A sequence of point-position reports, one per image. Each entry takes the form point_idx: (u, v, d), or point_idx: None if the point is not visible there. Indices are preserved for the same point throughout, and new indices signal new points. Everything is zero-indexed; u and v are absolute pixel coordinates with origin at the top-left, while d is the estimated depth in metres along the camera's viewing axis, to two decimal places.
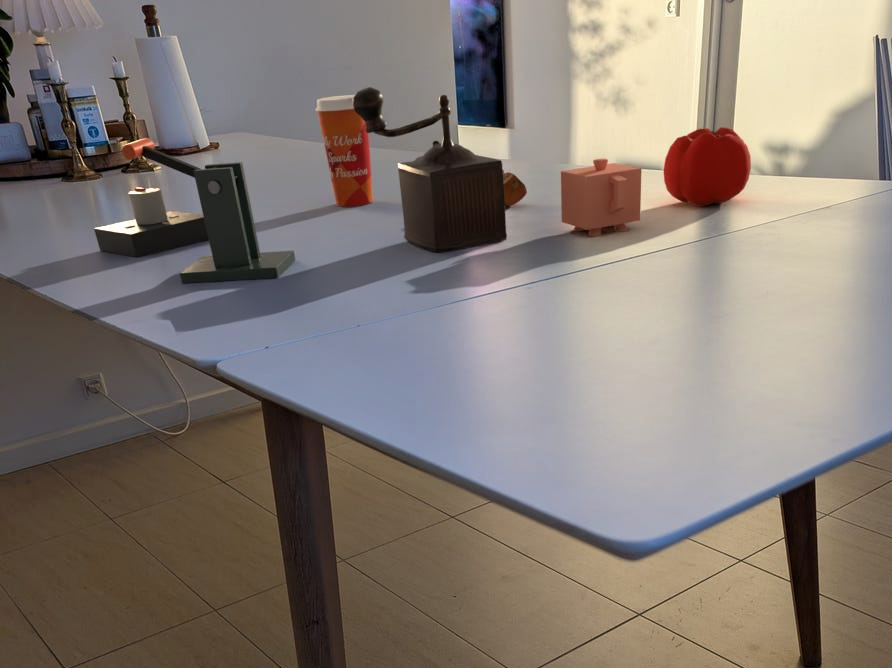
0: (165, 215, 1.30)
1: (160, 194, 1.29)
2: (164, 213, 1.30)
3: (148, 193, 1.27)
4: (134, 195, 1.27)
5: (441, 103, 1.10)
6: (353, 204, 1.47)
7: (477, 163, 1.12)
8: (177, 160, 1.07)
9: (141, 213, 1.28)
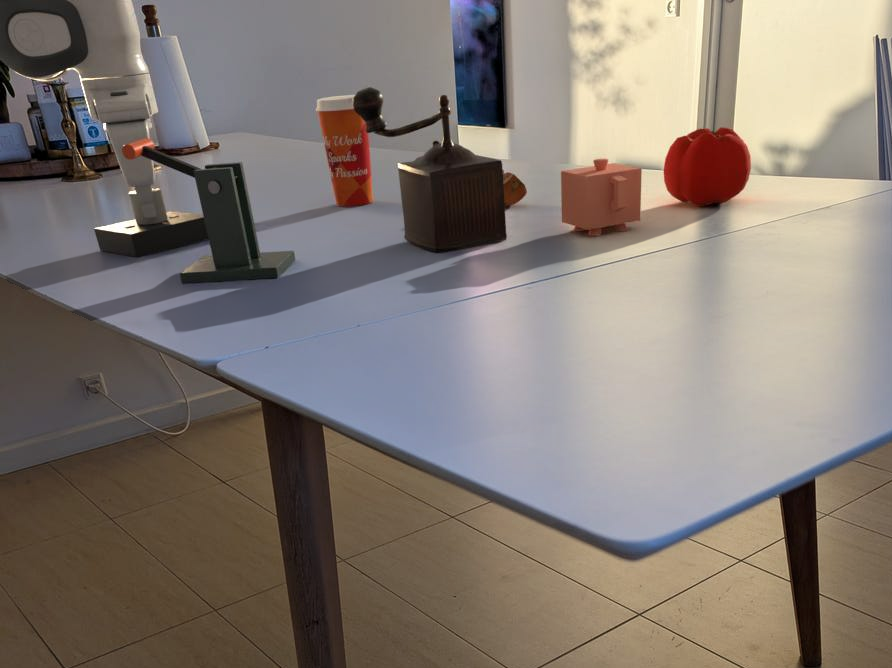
0: (165, 215, 1.30)
1: (160, 194, 1.29)
2: (164, 213, 1.30)
3: None
4: (134, 195, 1.27)
5: (441, 103, 1.10)
6: (353, 204, 1.47)
7: (477, 163, 1.12)
8: (177, 160, 1.07)
9: (140, 213, 1.28)
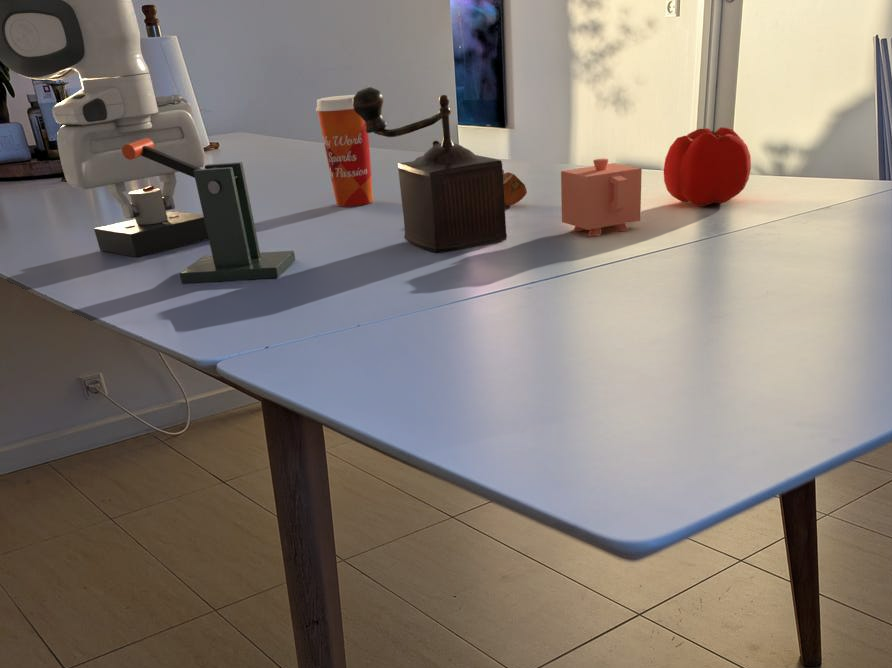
0: (152, 218, 1.29)
1: (147, 197, 1.27)
2: (150, 216, 1.28)
3: (132, 194, 1.27)
4: None
5: (441, 103, 1.10)
6: (353, 204, 1.47)
7: (477, 163, 1.12)
8: (177, 160, 1.07)
9: None
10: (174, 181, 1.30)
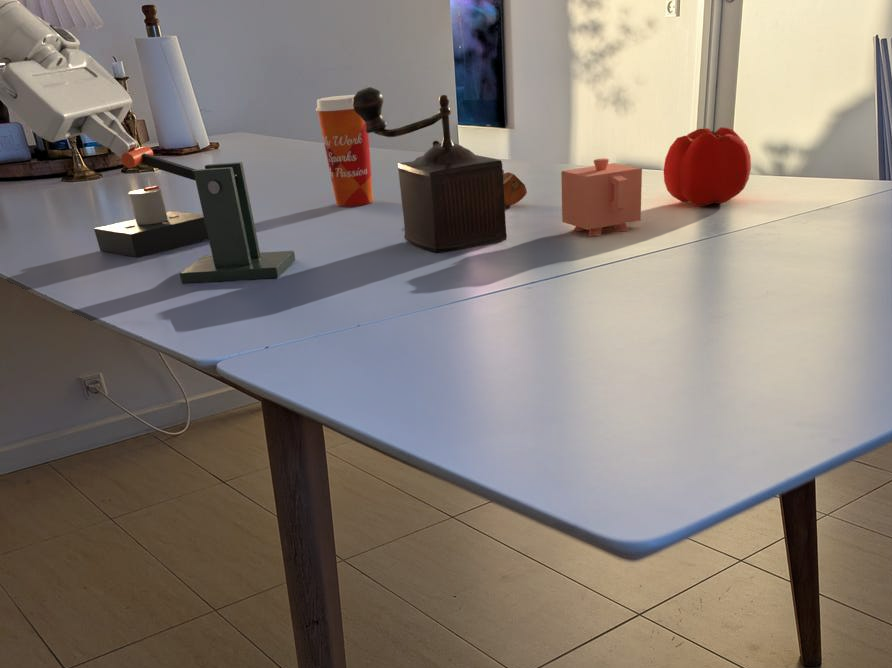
0: (143, 219, 1.29)
1: (139, 198, 1.27)
2: (142, 217, 1.28)
3: (129, 194, 1.28)
4: (133, 192, 1.29)
5: (441, 103, 1.10)
6: (353, 204, 1.47)
7: (477, 163, 1.12)
8: (176, 164, 1.07)
9: None
10: (91, 138, 1.04)
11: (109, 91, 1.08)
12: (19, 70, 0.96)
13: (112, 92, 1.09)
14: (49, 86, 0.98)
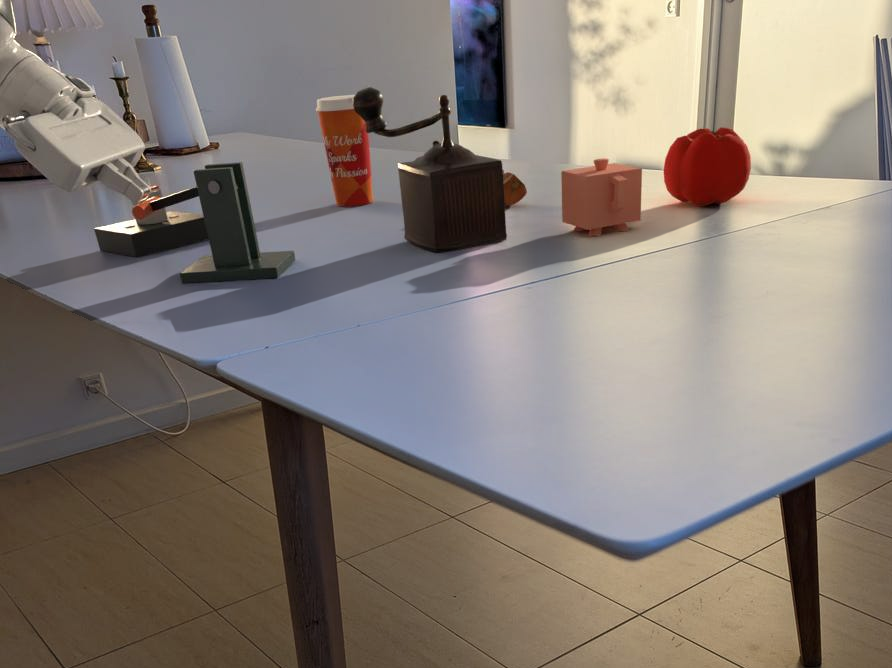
0: (143, 219, 1.29)
1: None
2: None
3: None
4: None
5: (441, 103, 1.10)
6: (353, 204, 1.47)
7: (477, 163, 1.12)
8: (179, 192, 1.09)
9: None
10: None
11: (123, 138, 1.11)
12: (38, 123, 0.99)
13: (126, 139, 1.12)
14: (66, 138, 1.01)
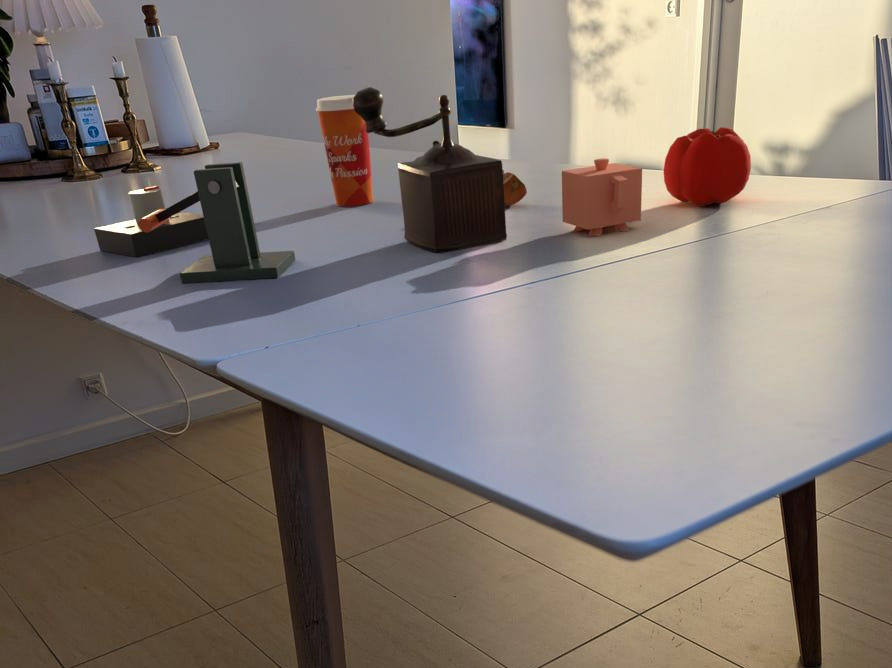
0: None
1: (139, 198, 1.27)
2: (142, 217, 1.28)
3: (129, 194, 1.28)
4: (133, 192, 1.29)
5: (441, 103, 1.10)
6: (353, 204, 1.47)
7: (477, 163, 1.12)
8: (182, 199, 1.09)
9: None
10: None
11: None
12: None
13: None
14: None
